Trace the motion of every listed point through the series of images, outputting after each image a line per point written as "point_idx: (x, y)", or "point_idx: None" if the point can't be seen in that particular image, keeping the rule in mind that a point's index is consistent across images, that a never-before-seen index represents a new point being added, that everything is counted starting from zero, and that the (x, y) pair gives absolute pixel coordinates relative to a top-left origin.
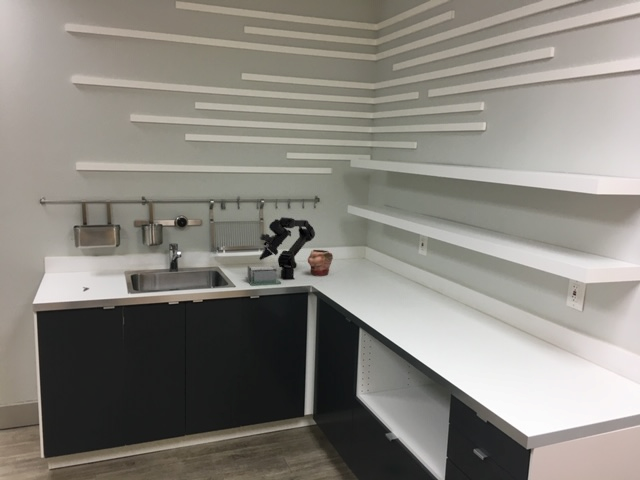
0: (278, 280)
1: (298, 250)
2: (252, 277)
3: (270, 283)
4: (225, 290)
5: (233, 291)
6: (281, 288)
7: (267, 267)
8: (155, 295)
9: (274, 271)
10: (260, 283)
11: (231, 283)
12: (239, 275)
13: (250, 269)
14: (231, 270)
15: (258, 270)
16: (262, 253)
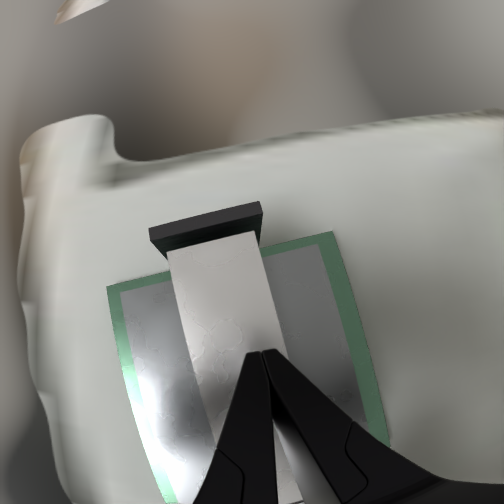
0: None
1: None
2: None
3: (139, 430)
4: (48, 151)
5: (23, 191)
6: (64, 474)
7: None
8: (75, 5)
9: (178, 499)
10: (120, 355)
11: (189, 154)
12: (414, 194)
13: (155, 245)
14: (494, 159)
15: None
16: (265, 444)
